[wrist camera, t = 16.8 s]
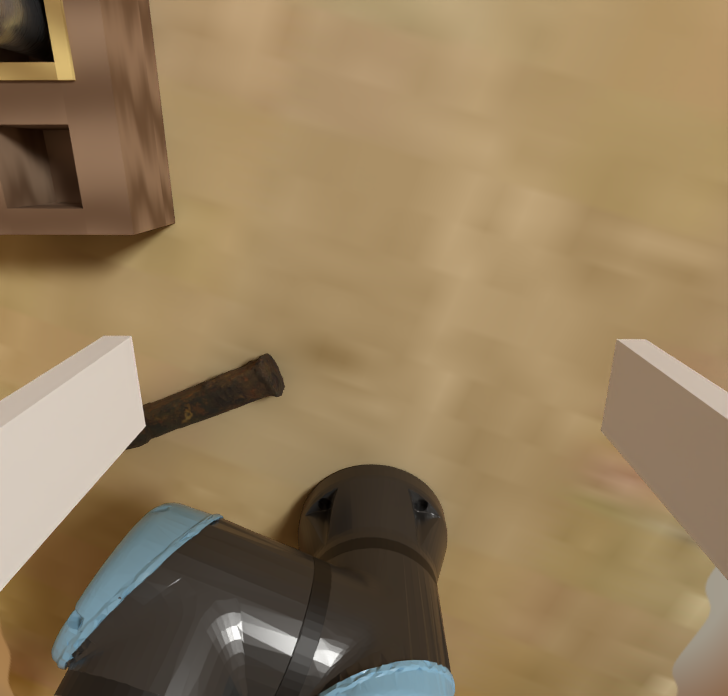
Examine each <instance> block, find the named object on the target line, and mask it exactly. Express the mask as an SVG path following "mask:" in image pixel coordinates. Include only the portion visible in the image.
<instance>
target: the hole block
mask: <svg viewBox="0 0 728 696" xmlns="http://www.w3.org/2000/svg"><path fill="white" fill-rule="evenodd" d="M44 5H45V11H46V17H47V22H48V28H49V33H50V39H51V45H52V50H53V56H54V61H55V62H45V61H42V60H38V59H35V58H32V57H29V56H25V55H22V54H19V53H16V52H13V51H9V50H6V49H3V48H0V235H135V234H139V233H142V232H146V231H149V230H153V229H156V228H159V227H163V226H166V225H170V224H173V223H175V217H174V209H173V200H172V192H171V184H170V175H169V167H168V159H167V150H166V142H165V134H164V125H163V117H162V109H161V100H160V92H159V83H158V75H157V67H156V58H155V50H154V42H153V33H152V25H151V17H150V8H149V0H44Z"/></svg>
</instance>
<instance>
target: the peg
mask: <svg viewBox="0 0 728 696" xmlns="http://www.w3.org/2000/svg"><path fill="white" fill-rule="evenodd" d="M0 48H3V49H6V50H9V51H13V52H16V53H19V54H22V55H25V56H29V57H32V58H35V59H38V60H42V61H45V62H55V61H54V56H53V50H52V45H51V39H50V33H49V28H48V22H47V17H46V11H45V5H44V0H0Z"/></svg>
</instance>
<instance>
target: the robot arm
mask: <svg viewBox="0 0 728 696" xmlns="http://www.w3.org/2000/svg"><path fill="white" fill-rule="evenodd" d="M145 426H146V425H145V418H144V412H143V406H142V399H141V393H140V387H139V380H138V374H137V368H136V362H135V355H134V349H133V343H132V336H103V337H101V338H99V339H98V340H96V341H95V342H93V343H92V344H90V345H88V346H87V347H85V348H84V349H82V350H80V351H79V352H77V353H76V354H74V355H72V356H71V357H69V358H68V359H66V360H64V361H63V362H61V363H60V364H58V365H57V366H55V367H53V368H52V369H50V370H49V371H47V372H45V373H44V374H42V375H41V376H39V377H37V378H36V379H34V380H33V381H31V382H29V383H28V384H26V385H25V386H23V387H22V388H20V389H18V390H17V391H15V392H14V393H12V394H10V395H9V396H7V397H6V398H4V399H2V400H1V401H0V591H1V590H2V589H3V588H4V587H5V585H6V584H7V583H8V582H9V581H10V580H11V579H12V577H13V576H14V575H15V574H16V573H17V572H18V571H19V570H20V568H21V567H22V566H23V565H24V564H25V563H26V562H27V560H28V559H29V558H30V557H31V556H32V555H33V554H34V552H35V551H36V550H37V549H38V548H39V547H40V546H41V545H42V543H43V542H44V541H45V540H46V539H47V538H48V537H49V535H50V534H51V533H52V532H53V531H54V530H55V529H56V527H57V526H58V525H59V524H60V523H61V522H62V521H63V520H64V518H65V517H66V516H67V515H68V514H69V513H70V512H71V510H72V509H73V508H74V507H75V506H76V505H77V504H78V502H79V501H80V500H81V499H82V498H83V497H84V496H85V495H86V493H87V492H88V491H89V490H90V489H91V488H92V487H93V485H94V484H95V483H96V482H97V481H98V480H99V479H100V477H101V476H102V475H103V474H104V473H105V472H106V471H107V470H108V468H109V467H110V466H111V465H112V464H113V463H114V462H115V460H116V459H117V458H118V457H119V456H120V455H121V454H122V453H123V451H124V450H125V449H126V448H127V447H128V446H129V445H130V443H131V442H132V441H133V440H134V439H135V438H136V437H137V435H138V434H139V433H140V432H141V431H142V430H143V429H144V428H145ZM601 431H602V432H603V434H604V435H605V436H606V437H607V438H608V439H609V441H610V442H611V443H612V444H613V445H614V447H615V448H616V449H617V450H618V451H619V452H620V454H621V455H622V456H623V457H624V458H625V460H626V461H627V462H628V463H629V464H630V465H631V467H632V468H633V469H634V470H635V471H636V472H637V474H638V475H639V476H640V477H641V478H642V480H643V481H644V482H645V483H646V484H647V485H648V487H649V488H650V489H651V490H652V491H653V493H654V494H655V495H656V496H657V497H658V498H659V500H660V501H661V502H662V503H663V504H664V505H665V507H666V508H667V509H668V510H669V511H670V513H671V514H672V515H673V516H674V517H675V518H676V520H677V521H678V522H679V523H680V524H681V526H682V527H683V528H684V529H685V530H686V531H687V533H688V534H689V535H690V536H691V537H692V538H693V540H694V541H695V542H696V543H697V544H698V546H699V547H700V548H701V549H702V550H703V551H704V553H705V554H706V555H707V556H708V557H709V559H710V560H711V561H712V562H713V563H714V564H715V566H716V567H717V568H718V569H719V570H720V571H721V573H722V574H723V575H724V576H725V577H726V578H727V580H728V392H726V391H725V390H723V389H722V388H720V387H719V386H717V385H716V384H714V383H712V382H711V381H709V380H708V379H706V378H705V377H703V376H702V375H700V374H699V373H697V372H695V371H694V370H692V369H691V368H689V367H688V366H686V365H685V364H683V363H682V362H680V361H678V360H677V359H675V358H674V357H672V356H671V355H669V354H668V353H666V352H664V351H663V350H661V349H660V348H658V347H657V346H655V345H654V344H652V343H651V342H649V341H647V340H646V339H617V340H616V346H615V352H614V358H613V364H612V369H611V375H610V381H609V387H608V393H607V398H606V404H605V410H604V416H603V422H602V427H601ZM298 545H299V550H297V549H295V548H292V547H290V546H287V545H285V544H282V543H280V542H278V541H275V540H273V539H270V538H268V537H265V536H263V535H260V534H258V533H255V532H253V531H251V530H248V529H246V528H244V527H241V526H239V525H237V524H234V523H232V522H230V521H228V520H225V519H223V516H221V515H219V514H214V515H212V514H209V513H206V512H203V511H200V510H197V509H194V508H191V507H188V506H186V505H183V504H179V503H166V504H162V505H160V506H157V507H156V508H154V509H152V510H151V511H150V512H148V513H147V514H146V515H145V516H144V517H143V518H142V519H141V520H139V521H138V522H137V524H136V525H135V526H134V527H133V528H132V529H131V530H130V531H129V532H128V534H127V535H126V536H125V537H124V538H123V540H122V541H121V542H120V543H119V544H118V546H117V547H116V548H115V550H114V551H113V552H112V553H111V555H110V556H109V557H108V559H107V560H106V561H105V563H104V564H103V565H102V567H101V568H100V569H99V571H98V572H97V574H96V575H95V576H94V578H93V579H92V581H91V582H90V584H89V585H88V587H87V588H86V589H85V591H84V593H83V594H82V596H81V597H80V599H79V600H78V602H77V604H76V606H75V610H74V611H73V612H72V613H71V615H70V616H69V618H68V620H67V621H66V623H65V624H64V625H63V627H62V628H61V630H60V632H59V634H58V636H57V638H56V640H55V642H54V645H53V648H52V652H51V653H52V658H53V660H54V661H55V662H56V663H57V665H58V667H59V668H60V669H65V670H66V668H67V667H69V668H68V671H67V673H66V674H65V676H64V678H63V680H62V682H61V684H60V685H59V687H58V689H57V691H56V693H55V694H54V696H454V693H455V684H454V680H453V677H452V674H451V671H450V664H449V658H448V652H447V646H446V639H445V633H444V627H443V620H442V613H441V607H440V600H439V594H438V588H437V582H438V578H439V574H440V571H441V567H442V563H443V560H444V556H445V553H446V548H447V528H446V523H445V517H444V513H443V509H442V507H441V504H440V502H439V500H438V498H437V497H436V495H435V494H434V493H433V491H432V490H431V489H430V488H429V487H428V486H427V485H426V484H425V483H424V482H422V481H421V480H420V479H418V478H417V477H415V476H414V475H412V474H410V473H408V472H406V471H403V470H401V469H397V468H394V467H390V466H384V465H360V466H354V467H350V468H346V469H343V470H341V471H338V472H336V473H334V474H332V475H330V476H329V477H327V478H326V479H324V480H323V481H322V482H321V483H319V484H318V485H317V486H316V487H315V488H314V490H313V491H312V492H311V493H310V495H309V496H308V498H307V500H306V502H305V504H304V506H303V509H302V513H301V518H300V523H299V528H298Z"/></svg>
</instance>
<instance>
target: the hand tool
mask: <svg viewBox="0 0 728 696" xmlns="http://www.w3.org/2000/svg"><path fill="white" fill-rule="evenodd" d="M284 387H285V386H284V382H283V378H282V376H281V374H280V371H279V368H278V366H277V364H276V362H275V361H274V359H273V358H272V357H271V356H270V355H269V354H265V355H262V356H261V357H260V358H259V359H258V360H257V361H256V360H255V361H250V362H248V364H247V365H246V366H244V367H241V368H238V369H235V370H231V371H228V372H227V373H224V374H221V375H218V376H216V378H215V379H212V380H209V381H206V382H203V383H201V384H198V385H196V386H194V387H191V388H189V389H186V390H184V391H181V392H179V393H177V394H174V395H171V396H169V397H166V398H164V399H161V400H159V401H156V402H154V403H147V404H145V405H143V412H144V418H145V425H146V426H145V428H144V429H143V430H142V431H141V432H140V433H139V434H138V435H137V437H136V438H135V439H134V440H133V441H132V442H131V443H130V445H129V446H128V447H127V448H126V449H125V450H127V449H132V448H136V447H139V446H142V445H144V444H146V443H148V442H149V440H150V439H152V438H155V437H158V436H161V435H163V434H165V433H168V432H170V431H173V430H175V429H178V428H182V427H185V426H187V425H190V424H193V423H196V422H199V421H202V420H205V419H208V418H210V417H213V416H216V415H219V414H221V413H224V412H227V411H229V410H232V409H235V408H238V407H240V406H243V405H245V404H248V403H250V402H253V401H256V400H258V399H261V398H264V397H267V396H275V397H279V396H281V395H282V393H283V390H284Z"/></svg>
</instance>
